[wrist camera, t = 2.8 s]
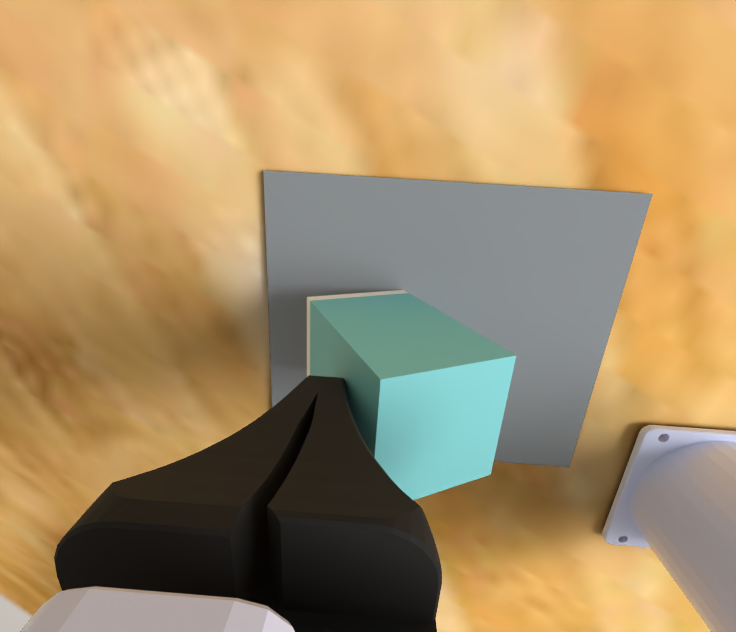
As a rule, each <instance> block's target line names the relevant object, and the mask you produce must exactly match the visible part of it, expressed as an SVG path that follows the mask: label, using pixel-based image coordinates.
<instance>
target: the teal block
mask: <svg viewBox="0 0 736 632" xmlns="http://www.w3.org/2000/svg"><path fill="white" fill-rule="evenodd" d="M515 360H516V355H514V354H513V353H511V352H509V351H508V350H506V349H504V348H502V347H501V346H499V345H497V344H496V343H494V342H492V341H490V340H489V339H487V338H485V337H483V336H482V335H480V334H478V333H477V332H475V331H473V330H471V329H470V328H468V327H466V326H465V325H463V324H461V323H459V322H458V321H456V320H454V319H452V318H451V317H449V316H447V315H446V314H444V313H442V312H440V311H439V310H437V309H435V308H434V307H432V306H430V305H428V304H427V303H425V302H423V301H421V300H420V299H418V298H416V297H415V296H413V295H411V294H409V293H408V292H406V291H404V290H394V291H380V292H367V293H353V294H339V295H326V296H312V297H307V376H309V375H311V376H325V377H340V378H344V379H345V381H346V395H347V400H348V403H349V407H350V410H351V413H352V416H353V418H354V421H355V423H356V425H357V428H358V430H359V432H360V434H361V436H362V438H363V440H364V441H365V443H366V445H367V447H368V448H369V450H370V451H371V453H372V455H373V456H374V458H375V459H376V461H377V462H378V463H379V464H380V466H381V467H382V468H383V469H384V471H385V472H386V473H387V474H388V476H389V477H390V478H391V479H392V480H393V482H394V483H395V484H396V485H397V486H398V487H399V488H400V489H401V490H402V491H403V492H404V493H406V494H407V495H408V496H409V497H410V498H411V499H412V500H416V499H419V498H422V497H425V496H428V495H431V494H434V493H437V492H440V491H443V490H446V489H449V488H452V487H455V486H458V485H461V484H464V483H467V482H470V481H473V480H476V479H479V478H482V477H485V476H488V475H491V471H492V466H493V462H494V457H495V452H496V448H497V443H498V438H499V434H500V429H501V425H502V420H503V415H504V411H505V406H506V401H507V397H508V392H509V388H510V383H511V378H512V374H513V369H514V364H515Z"/></svg>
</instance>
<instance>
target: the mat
mask: <svg viewBox="0 0 736 632" xmlns="http://www.w3.org/2000/svg"><path fill="white" fill-rule="evenodd" d="M263 174H264V201H265V227H266V254H267V281H268V307H269V334H270V360H271V387H272V407H274V406H275V405H276V404H277V403H278V402H279V401H281V400H282V399H283V398H284V397H285V396H286V395H288V394H289V393H290V392H291V391H292V390H293V389H294V388H295V387H296V386H297V385H298V384H300V383H301V382H302V381H303V380H304V379H305V378H306V377H307V297H312V296H326V295H339V294H353V293H367V292H380V291H394V290H404V291H406V292H408V293H409V294H411V295H413V296H415V297H416V298H418V299H420V300H421V301H423V302H425V303H427V304H428V305H430V306H432V307H434V308H435V309H437V310H439V311H440V312H442V313H444V314H446V315H447V316H449V317H451V318H452V319H454V320H456V321H458V322H459V323H461V324H463V325H465V326H466V327H468V328H470V329H471V330H473V331H475V332H477V333H478V334H480V335H482V336H483V337H485V338H487V339H489V340H490V341H492V342H494V343H496V344H497V345H499V346H501V347H502V348H504V349H506V350H508V351H509V352H511V353H513V354H514V355H516V360H515V364H514V369H513V374H512V378H511V383H510V388H509V392H508V397H507V401H506V406H505V411H504V415H503V420H502V425H501V429H500V434H499V438H498V443H497V448H496V452H495V457H494V462H507V463H520V464H533V465H546V466H559V467H569V466H570V463H571V459H572V456H573V453H574V450H575V446H576V443H577V440H578V437H579V433H580V430H581V427H582V423H583V420H584V417H585V414H586V410H587V407H588V404H589V400H590V397H591V394H592V391H593V387H594V384H595V381H596V378H597V374H598V371H599V368H600V364H601V361H602V358H603V355H604V351H605V348H606V345H607V342H608V338H609V335H610V332H611V328H612V325H613V322H614V319H615V315H616V312H617V309H618V306H619V302H620V299H621V296H622V292H623V289H624V286H625V283H626V279H627V276H628V273H629V269H630V266H631V263H632V260H633V256H634V253H635V250H636V247H637V243H638V240H639V237H640V233H641V230H642V227H643V224H644V220H645V217H646V214H647V211H648V207H649V204H650V201H651V197H652V194H646V193H630V192H613V191H597V190H580V189H564V188H547V187H531V186H514V185H498V184H481V183H464V182H448V181H431V180H415V179H398V178H382V177H365V176H349V175H332V174H316V173H299V172H283V171H266V170H263Z"/></svg>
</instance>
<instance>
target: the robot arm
mask: <svg viewBox="0 0 736 632" xmlns="http://www.w3.org/2000/svg"><path fill="white" fill-rule="evenodd" d="M662 434H663V435H662ZM660 435H662V436H661V437H659V436H660ZM602 536H603V538H604V540H605V541H606V542H607V543H608V544H614V545H627V546H639V547H651V549H652V550H653V551H654V553H655V554H656V556H657V557H658V558H659V560H660V561H661V563H662V564H663V565H664V567H665V568H666V570H667V571H668V572H669V574H670V575H671V576H672V578H673V579H674V581H675V582H676V583H677V585H678V586H679V588H680V589H681V590H682V592H683V593H684V595H685V596H686V597H687V599H688V600H689V602H690V603H691V604H692V606H693V607H694V608H695V610H696V611H697V613H698V614H699V615H700V617H701V618H702V620H703V621H704V622H705V624H706V625H707V627H708V628H709V629H710V631H711V632H736V431H730V430H716V429H702V428H688V427H675V426H661V425H647V426H645V427H643V428H642V429H641V430H640V432H639V435H638V437H637V440H636V443H635V445H634V448H633V451H632V453H631V456H630V459H629V462H628V464H627V467H626V470H625V472H624V475H623V478H622V480H621V483H620V486H619V488H618V491H617V494H616V496H615V499H614V502H613V505H612V507H611V510H610V513H609V515H608V518H607V521H606V523H605V526H604V529H603V531H602ZM54 559H55V565H56V572H57V577H58V580H59V583H60V586H61V589H62V591H60V592H58V593H57V594H55V595H54V596H53V597H52V598H50V599H49V600H48V601H47V602H45V603H44V604H43V605H42V606H41V607H40V608H39V609H38V610H37V611H36V613H35V614H34V615H33V616H32V618H31V619H30V620H29V621H28V623H27V624H26V625H25V626H24V628H23V629H22V630H21V631H20V632H437V629H436V620H435V618H436V612H437V607H438V601H439V596H440V590H441V585H442V571H441V564H440V559H439V555H438V552H437V548H436V544H435V541H434V538H433V535H432V532H431V529H430V527H429V524H428V522H427V519H426V517H425V514H424V512H423V510H422V508H421V507H420V506H419V505H418V504H417V503H416V502H415V501H413V500H412V499H411V498H410V497H409V496H408V495H407V494H406V493H404V492H403V491H402V490H401V489H400V488H399V487H398V486H397V485H396V484H395V483H394V482H393V480H392V479H391V478H390V477H389V476H388V474H387V473H386V472H385V471H384V469H383V468H382V467H381V466H380V464H379V463H378V462H377V461H376V459H375V458H374V456H373V455H372V453H371V451H370V450H369V448H368V447H367V445H366V443H365V441H364V440H363V438H362V436H361V434H360V432H359V430H358V428H357V425H356V423H355V421H354V418H353V416H352V413H351V410H350V407H349V403H348V400H347V395H346V381H345V379H344V378H340V377H325V376H311V375H309V376H307V377H306V378H305V379H304V380H303V381H302V382H301V383H300V384H298V385H297V386H296V387H295V388H294V389H293V390H292V391H291V392H290V393H289V394H288V395H286V396H285V397H284V398H283V399H282V400H281V401H279V402H278V403H277V404H276V405H275V406H274V407H272V408H271V409H270V410H268V411H267V412H266V413H265V414H263V415H262V416H261V417H259V418H258V419H257V420H255V421H254V422H252V423H251V424H249V425H248V426H246V427H244V428H243V429H241V430H240V431H238V432H236V433H235V434H233V435H231V436H229V437H228V438H226V439H224V440H222V441H220V442H218V443H216V444H214V445H212V446H210V447H208V448H206V449H204V450H202V451H200V452H198V453H195V454H193V455H191V456H188V457H186V458H184V459H181V460H179V461H176V462H174V463H171V464H169V465H166V466H163V467H160V468H158V469H155V470H152V471H149V472H145V473H142V474H139V475H136V476H133V477H130V478H127V479H123V480H120V481H116V482H113V483H112V484H111V485H110V486H109V487H108V488H107V489H106V490H105V491H104V492H103V493H102V494H101V495H100V496H99V497H98V499H97V500H96V501H95V502H94V503H93V504H92V505H91V506H90V508H89V509H88V510H87V511H86V512H85V513H84V514H83V515H82V517H81V518H80V519H79V520H78V521H77V522H76V523H75V524H74V526H73V527H72V528H71V529H70V530H69V531H68V532H67V533H66V535H65V536H64V537H63V538H62V540H61V541H60V542H59V544H58V545H57V549H56V553H55V557H54Z"/></svg>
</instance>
